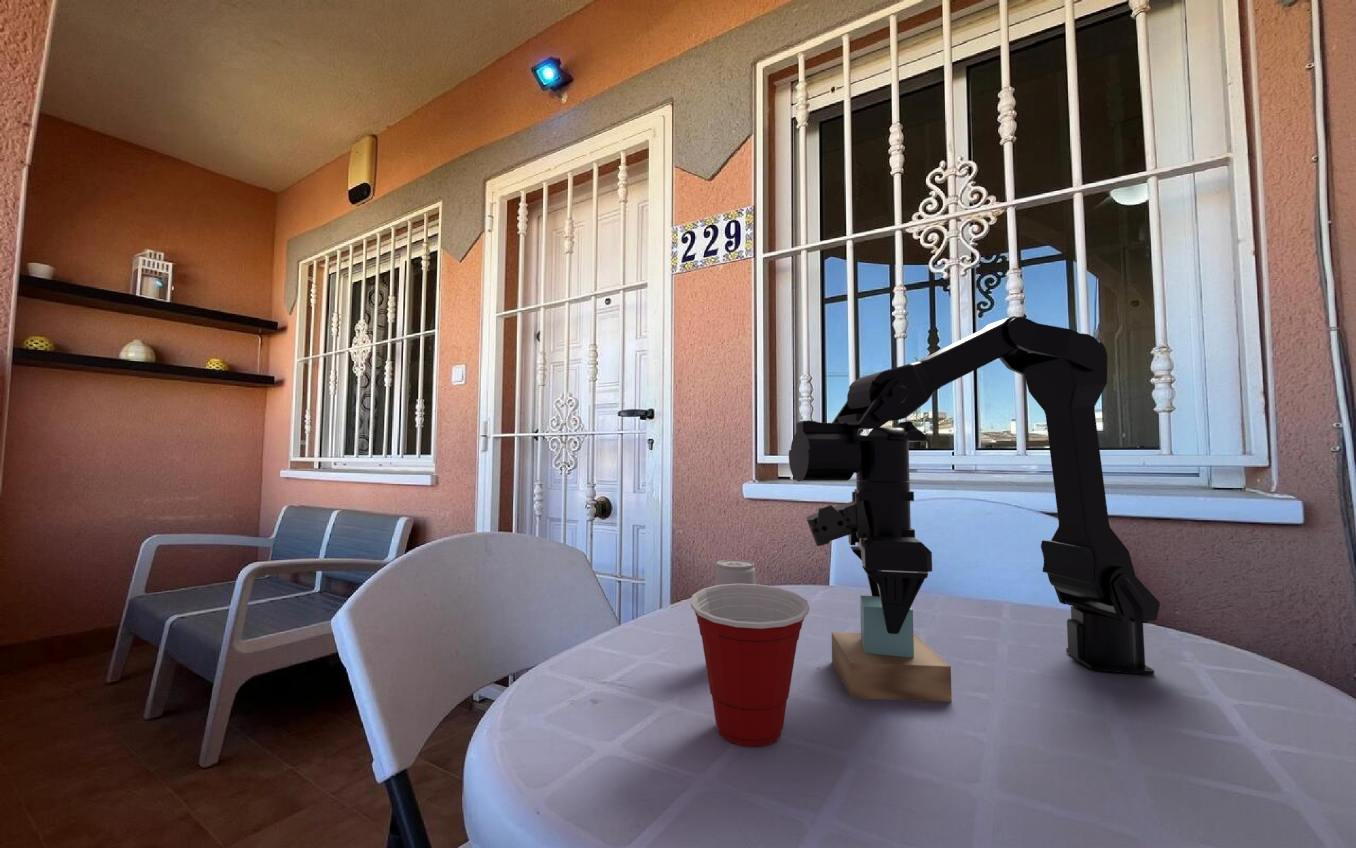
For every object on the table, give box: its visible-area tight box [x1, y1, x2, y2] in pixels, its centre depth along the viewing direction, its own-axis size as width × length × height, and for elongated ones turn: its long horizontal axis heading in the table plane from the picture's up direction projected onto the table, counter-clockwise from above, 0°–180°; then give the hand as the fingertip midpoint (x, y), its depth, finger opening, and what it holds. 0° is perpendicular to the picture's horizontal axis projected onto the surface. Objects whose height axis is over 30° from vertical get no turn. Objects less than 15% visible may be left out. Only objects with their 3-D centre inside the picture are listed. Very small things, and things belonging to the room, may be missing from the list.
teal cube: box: [859, 594, 914, 658], centre depth 61 cm, size 5×5×5 cm
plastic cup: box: [689, 583, 811, 748], centre depth 49 cm, size 11×11×12 cm
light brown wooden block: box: [831, 631, 953, 703], centre depth 61 cm, size 10×10×4 cm
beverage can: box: [715, 559, 756, 586], centre depth 66 cm, size 5×5×12 cm
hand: (885, 620), depth 61 cm, fingers open, 9 cm apart
